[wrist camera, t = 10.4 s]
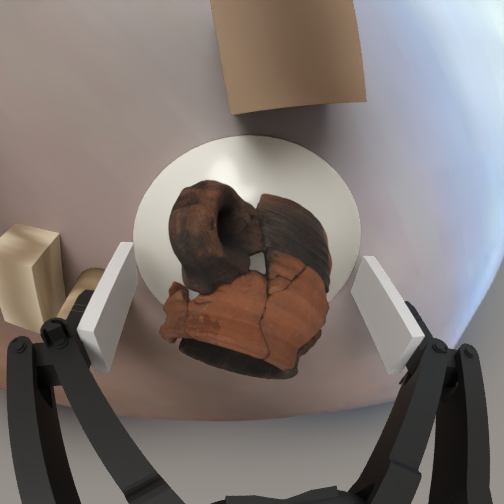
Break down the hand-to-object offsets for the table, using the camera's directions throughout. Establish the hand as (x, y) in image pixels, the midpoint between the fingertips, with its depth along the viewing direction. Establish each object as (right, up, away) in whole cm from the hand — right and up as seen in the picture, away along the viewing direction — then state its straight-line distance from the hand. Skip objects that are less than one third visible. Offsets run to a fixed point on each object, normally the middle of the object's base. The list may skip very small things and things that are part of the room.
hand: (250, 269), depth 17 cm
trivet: (0, +1, +2) cm, 2 cm away
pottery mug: (-1, +1, +1) cm, 2 cm away
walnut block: (+1, +11, -4) cm, 12 cm away
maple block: (-15, 0, +1) cm, 15 cm away
